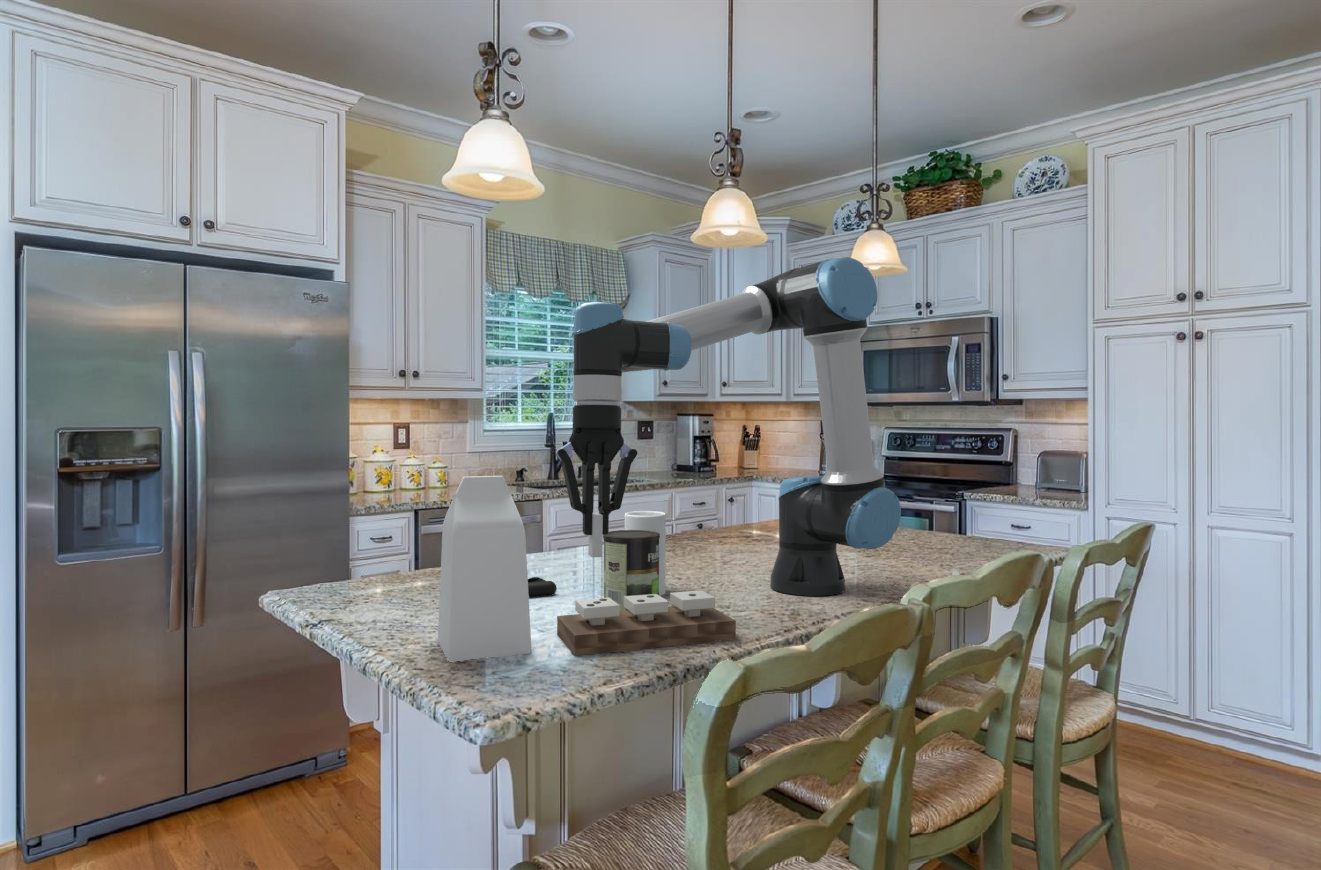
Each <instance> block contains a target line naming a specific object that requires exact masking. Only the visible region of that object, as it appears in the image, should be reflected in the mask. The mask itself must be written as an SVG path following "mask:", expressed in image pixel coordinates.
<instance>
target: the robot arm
mask: <svg viewBox="0 0 1321 870" xmlns="http://www.w3.org/2000/svg"><path fill="white" fill-rule="evenodd" d="M877 302H878V288H877V283H876V281H875V277H874V276H873V273H871V271H870V270H869V269H868V267H866V266H864V264H863V263H862V262H861V261H859V260H858V259H855V258H852V257H848V256H846V257H845V256H843V257H835V258H830V259H825V260H823V261H818V262H815V263H810V264H809V265H808V264H807V265H804V266H800V267H796V268H793V269H788V270H787V271H785V272H782V273H780V274H778V275H776V276H773V277H770V278H769V279H767V280H764V281H762V282H758V283H756V284H753V285H749V286H747V287H745V288H744V289H743V290H742V291H741V293H740V294H737V295H733V296H729V297H727V298H722V299H719V300H716V301H715V300H714V301H711V302H709V303H704V304H702V305H698V306H695V307H692V308H687V309H685V310H680V311H677V312H674V313H673V312H672V313H670V314H667V315H664V316H659V317H656V318H653V319H649V320H646V321H644V320H643V321H639V320H632V319H626V318H624V317H625V316H624V311H623V308H622V306H621V305H619V304H617V303H613V302H601V301H595V302H585V303H581V304H579V305H578V306H577V307H576V308H575V311H574V319H573V332H572V335H573V386H572V387H573V388H572V389H573V390H572V400H573V402H576V405H574V406H573V407H572V432H571V435H570V437H569V439H568V440H569V441H568V443H566V444H565V445H563V446H562V447H559V448H555V450H554V455H555V456H556V458H557V459H558V460H559V462H560V464H561V467H562V469H561V470H562V473H563V477H564V480H565V481H564V482H565V486H566V490H567V491H566V492H567V495H568V499H569V500H568V501H569V504H570V507H571V509H572V510H575V511H577V512H579V513H581V515H582V534H583V535H585V536H588V548H587V549H588V556H590V557H591V558H603V535H606V534H608V532H610V530H609V525H610V524H609V521H610V519H609V517H610V514H611V513H612V512H615V511H617V510H620V509H621V507H622V502H623V500H624V499H623V498H624V495H625V491H626V486H627V483H628V478H629V474H630V471H631V466H632V464H633V462H634V461H635V459H636V457H637V456H638V450H637V449H635V448H632V447H630V446H629V445H627V444H625V440H624V437H623V435H622V407H620V405H619V404H618V403H620V402H622V397H623V395H622V394H623V393H622V392H623V391H622V384H623V383H622V376H623V373H628V372H629V373H631V372H639V371H640V372H642V371H648V370H649V371H650V370H664V371H673V370H674V371H675V370H676V371H678V370H682V369H683V368H685V367H686V365H687V364H688V363H689V361H690V358H691V355H692V351H695V350H698V349H702V348H704V347H705V348H706V347H708V346H712V345H714V344H717V343H720V342H725V341H728V340H730V339H734V338H738V337H741V336H743V335H747V334H750V333H752V334H755V335H764V334H766V333H770V332H776V331H783V330H796V329H802V333H803V339H805V340H806V341H807V342H809V344H811V345H812V347H813V354H814V363H815V372H816V373H815V374H816V380H817V388H818V398H819V407H820V413H821V414H820V416H821V425H822V431H823V440H824V448H825V457H826V459H825V460H826V466H827V467H826V468H827V471H826V473H825V474H824V475H816V476H800V477H790V478H785V479H783V480H782V481H781V483H780V486H779V495H778V533H779V534H778V537H779V538H778V539H779V540H778V544H779V545H778V553H777V556H776V559H775V561H774V564H773V568H772V571H771V574H770V585H769V586H770V588H771V589H772V590H774V591H776V592H780V593H782V594H783V593H784V594H787V595H788V594H790V595H796V596H810V597H812V596H813V597H819V596H821V597H824V596H832V595H838V594H842V593H843V592H845V591H846V578H845V575H844V573H843V568H842V565H841V562H840V558H839V556H838V551H837V544H838V545H842V546H847V547H851V548H853V549H859V550H860V549H862V550H863V549H865V550H876V549H880V548H882V547H883V546H885V545H886V544H887V543H889V542H890V541H891V540H892V538H893V537H894V534H895V533H897V531H898V528H899V525H900V522H901V516H902V509H901V508H902V507H901V502H900V500H899V497H898V496H897V494H896V495H895V492H894V491H892V490H890V489H889V488H888V487H886V485H885V478H884V473H883V472H882V471H881V470H880V469H878V468H877V467H876V466H875V462H874V455H873V454H874V452H873V445H872V437H871V436H872V435H871V426H870V418H869V407H868V399H867V398H868V397H867V391H866V390H867V389H866V381H865V374H864V371H865V370H864V364H863V354H862V346H861V345H862V344H861V339H862V337H863V335H864V334H866V332H867V330H868V324H867V323H868V322H867V319H868V318H869V316H871V315H872V314H873V313H874V310H875V306H877V304H878V303H877ZM573 452H574V453H575V454H576V455H577V457H578V459H579V460H580V461H581V468H582V482H581V483H582V487H581V488H582V490H581V491H582V493H581V495H582V496H581V495H580V490H579V486H578V482H577V478H576V474H575V473H576V472H575V468H574V464H573V462H572V458H573ZM618 453H619V457H620V460H619V463H618V465H617V470H616V474H615V479H614V482H613V486H612V490H611V469H612V461H613V460H614V459H615V457H616V455H617V454H618ZM596 464H597V469H598V474H597V475H598V476H597V477H598V478H597V482H598V483H597V484H598V485H597V487H598V488H597V489H598V490H597V491H598V494H597V495H598V496H597V498H598V499H597V510H598V512H594V506H595V505H594V501H595V499H594V496H595V495H594V494H595V491H594V490H595V489H594V488H595V469H596ZM581 497H582V499H581Z"/></svg>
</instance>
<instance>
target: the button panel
mask: <svg viewBox="0 0 1321 870" xmlns="http://www.w3.org/2000/svg"><path fill="white" fill-rule="evenodd" d="M556 617H557V618H556V632H557V633H556V635H557V637H558V638H559V639H560V640H561V641H562V642H563V643H564V645H565V647H567V649H568V650H569V651H570V652H571V654H572V655H573V656H574V657H577V656H587V655H595V654H596V655H597V654H606V653H607V654H608V653H614V652H625V651H626V652H628V651H636V650H645V649H657V648H665V647H666V648H667V647H675V646H685V645H695V644H705V643H714V642H715V643H716V642H724V641H732V640H733V641H734V640H736V639H737V637H736V636H737V620H736V619H734V618H732V617H730V616H729V615H728V614H725V613H724V612H722V611H719V610H718V609H716V608H704V609H700V616H694V617H686V616H685V615H684V610H681V609H680V608H678V607H676V606H675V605H673V606H668V612H657V613H654V620H649V621H639V620H638V614H633V613H632V612H630V611H629V610H623V611H619V616H611V617H605V624H604V625H593V626H590V625H589V618H587V619H584V618H583V617H582V616H581V615H580V614H579V613H577V614H566V615H565V614H564V615H556Z"/></svg>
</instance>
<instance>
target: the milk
mask: <svg viewBox="0 0 1321 870" xmlns="http://www.w3.org/2000/svg"><path fill="white" fill-rule="evenodd" d="M505 479H506V478H505V476H504V475H482V476H480V475H478V476H462V478H461V480H460V482H459V484H458V487H457V488H456V491H455V493H454V495H453V498H452V500H451V502H450V504H449V507H448V510H447V511H446V513H445V517H444V519H443V522H442V535H441V553H440V554H441V557H440V582H439V583H440V584H439V587H440V588H439V604H438V605H439V606H438V629H437V643H438V645H439V646H440V648H441V651H442V650H443V651H442V652H444V653H443V654H445V655H444V656H446V657H447V659H448V660H447V659H446V660H447V662H448V661H449V662H452V661H460V662H463V661H462V660H469V659H477V660H479V659H478V658H485V659H490V658H489V657H494V658H501V657H509V656H510V657H511V656H519V655H527V654H532V652H533V651H532V649H533V648H532V634H531V633H532V632H531V617H530V615H531V614H530V600H529V599H530V598H529V594H528V579H529V578H528V576H529V575H528V558H527V544H526V543H527V541H526V530H525V526H524V523H523V519H522V517H521V514H520V513H519V510H518V508H517V505H516V503H515V500H514V499H513V496H512V494H511V491H510V488H509V486H508V483H507V481H506V480H505ZM446 657H445V658H446ZM487 657H488V658H487ZM469 661H470V660H469ZM449 662H448V663H449ZM452 663H453V662H452Z"/></svg>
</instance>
